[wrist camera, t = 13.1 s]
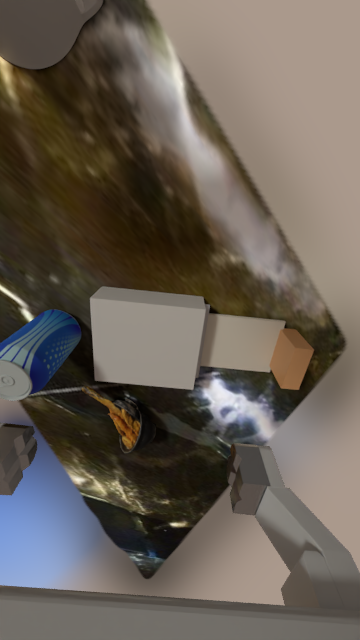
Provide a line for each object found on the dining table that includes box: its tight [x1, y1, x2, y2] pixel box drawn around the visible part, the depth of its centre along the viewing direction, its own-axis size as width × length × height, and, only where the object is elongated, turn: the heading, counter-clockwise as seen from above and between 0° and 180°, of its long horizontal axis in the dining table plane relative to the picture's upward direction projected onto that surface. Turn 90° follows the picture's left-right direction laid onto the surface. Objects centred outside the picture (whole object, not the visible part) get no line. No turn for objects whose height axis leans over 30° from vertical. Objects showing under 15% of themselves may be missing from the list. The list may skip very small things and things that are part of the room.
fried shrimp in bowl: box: [82, 386, 156, 454], centre depth 51 cm, size 9×11×18 cm
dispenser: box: [90, 287, 210, 390], centre depth 44 cm, size 16×19×6 cm
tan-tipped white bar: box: [200, 313, 314, 390], centre depth 42 cm, size 11×22×7 cm, turn 84°
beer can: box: [0, 310, 81, 401], centre depth 39 cm, size 8×8×16 cm
